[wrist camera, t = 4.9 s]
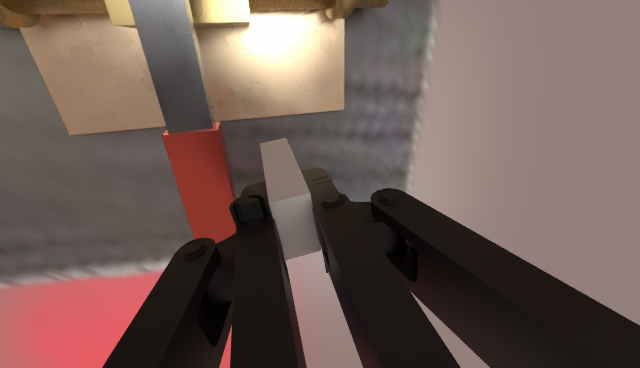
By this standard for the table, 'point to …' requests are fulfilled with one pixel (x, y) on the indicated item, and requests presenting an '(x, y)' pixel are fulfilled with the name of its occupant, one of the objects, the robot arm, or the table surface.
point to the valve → (215, 48)
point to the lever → (187, 115)
